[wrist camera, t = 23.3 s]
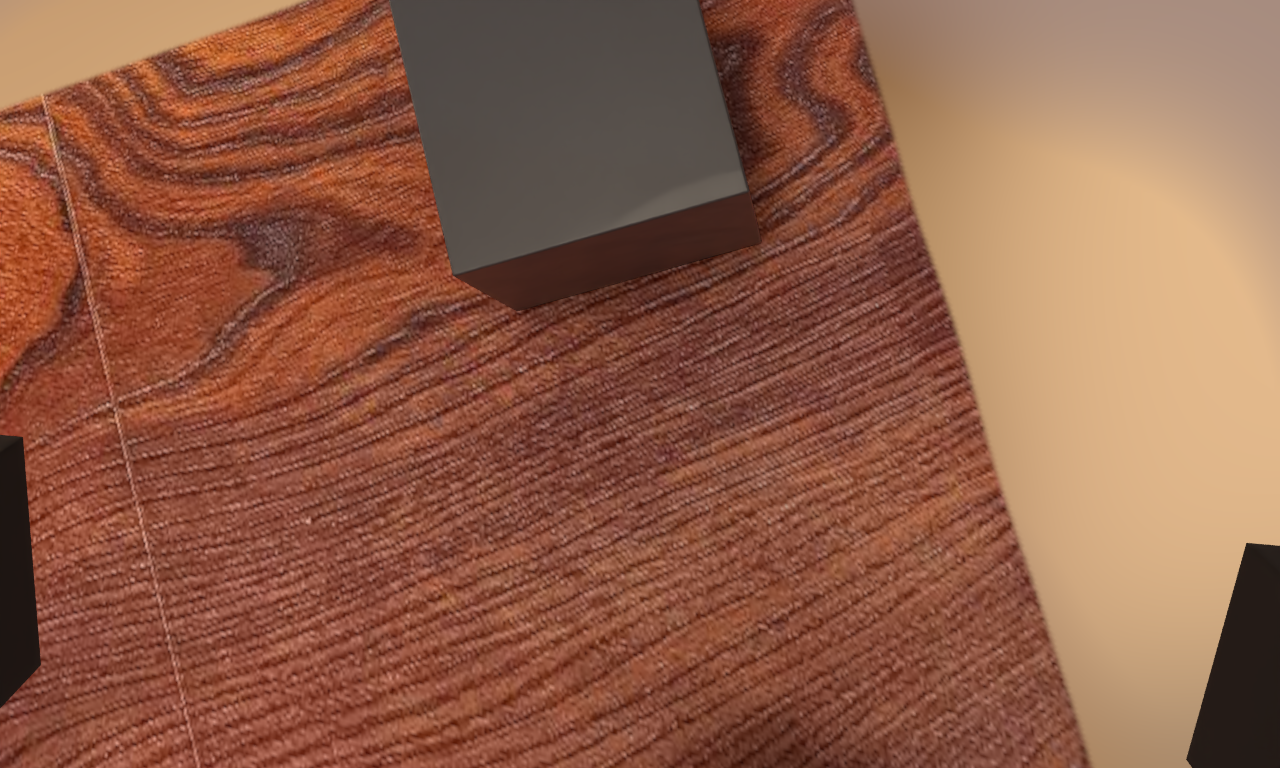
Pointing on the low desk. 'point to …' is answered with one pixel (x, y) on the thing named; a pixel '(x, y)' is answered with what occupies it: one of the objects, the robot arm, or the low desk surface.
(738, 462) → the low desk surface
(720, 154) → the riser
